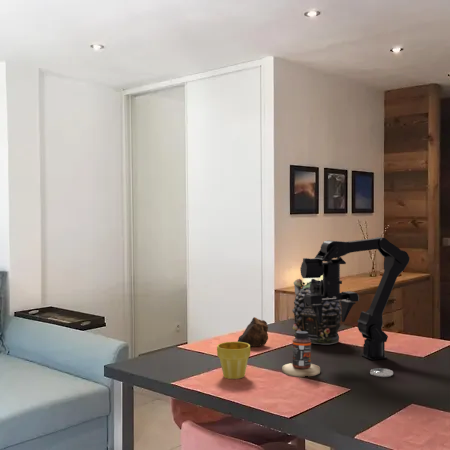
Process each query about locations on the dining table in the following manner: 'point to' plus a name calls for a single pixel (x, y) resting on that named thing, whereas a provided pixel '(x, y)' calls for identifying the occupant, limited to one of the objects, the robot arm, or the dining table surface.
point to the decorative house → (307, 317)
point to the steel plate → (381, 372)
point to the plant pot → (233, 358)
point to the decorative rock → (255, 333)
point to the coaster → (301, 370)
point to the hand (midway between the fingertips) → (331, 322)
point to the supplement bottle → (301, 350)
